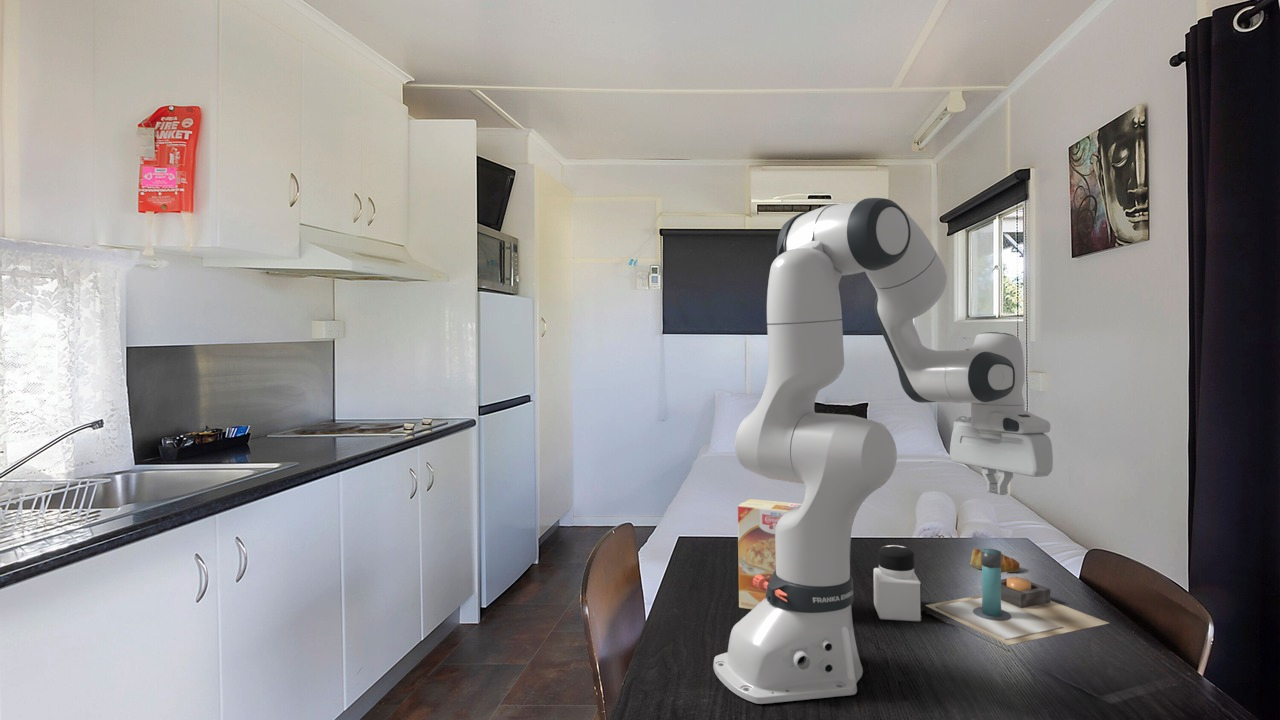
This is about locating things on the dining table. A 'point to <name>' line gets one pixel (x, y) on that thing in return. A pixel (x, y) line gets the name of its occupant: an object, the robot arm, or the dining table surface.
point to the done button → (1019, 583)
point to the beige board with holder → (1017, 615)
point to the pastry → (1007, 562)
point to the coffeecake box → (757, 545)
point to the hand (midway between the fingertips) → (997, 493)
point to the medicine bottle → (897, 585)
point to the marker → (991, 582)
